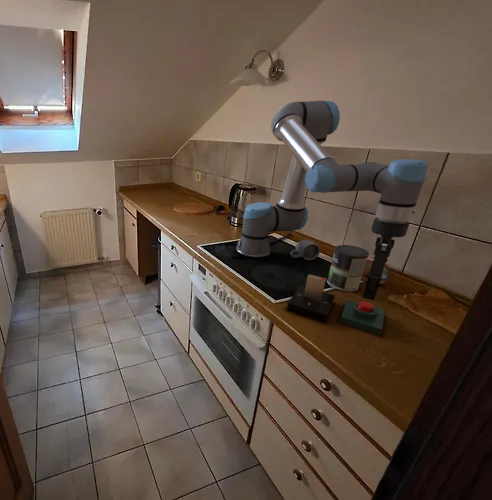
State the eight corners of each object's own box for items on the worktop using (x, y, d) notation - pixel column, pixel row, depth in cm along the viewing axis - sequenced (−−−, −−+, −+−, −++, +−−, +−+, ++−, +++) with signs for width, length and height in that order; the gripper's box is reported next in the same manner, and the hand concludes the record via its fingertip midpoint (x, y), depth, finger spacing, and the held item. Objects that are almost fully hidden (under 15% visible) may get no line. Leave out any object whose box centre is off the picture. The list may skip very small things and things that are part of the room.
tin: (343, 271, 121) (348, 252, 118) (348, 270, 123) (353, 251, 119) (383, 288, 109) (390, 267, 105) (388, 286, 110) (395, 266, 107)
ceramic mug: (309, 252, 140) (311, 237, 137) (318, 260, 132) (321, 243, 129) (286, 253, 140) (288, 238, 137) (294, 261, 132) (297, 245, 129)
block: (345, 305, 100) (348, 294, 98) (382, 315, 94) (386, 305, 92) (339, 322, 91) (342, 311, 90) (380, 335, 86) (384, 324, 84)
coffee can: (327, 287, 110) (335, 253, 105) (326, 276, 119) (334, 243, 113) (360, 294, 106) (371, 258, 100) (357, 281, 114) (367, 247, 109)
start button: (358, 304, 94) (359, 299, 93) (372, 308, 91) (373, 303, 91) (356, 309, 91) (358, 305, 90) (371, 314, 89) (372, 309, 88)
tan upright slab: (303, 297, 99) (307, 275, 96) (304, 295, 101) (309, 273, 97) (320, 302, 96) (325, 280, 93) (321, 300, 98) (326, 278, 94)
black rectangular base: (298, 292, 108) (299, 285, 107) (333, 302, 101) (335, 294, 100) (286, 310, 98) (288, 302, 97) (324, 323, 91) (326, 314, 90)
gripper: (409, 235, 69) (383, 312, 78) (410, 211, 86) (388, 277, 95) (370, 229, 74) (349, 302, 82) (378, 207, 91) (360, 270, 99)
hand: (370, 289), depth 88 cm, fingers open, 12 cm apart
